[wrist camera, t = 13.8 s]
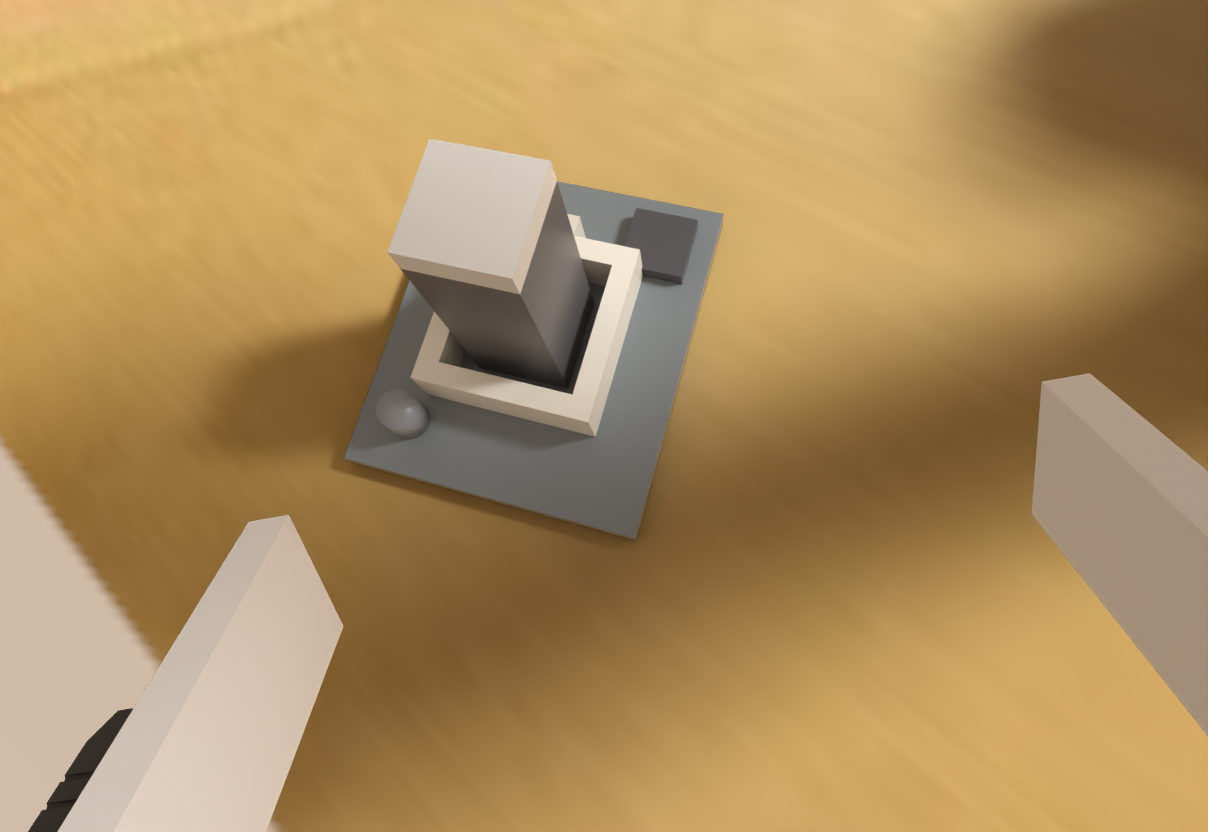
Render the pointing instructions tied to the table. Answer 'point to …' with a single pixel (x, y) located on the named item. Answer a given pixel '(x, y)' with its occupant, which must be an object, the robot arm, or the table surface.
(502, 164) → the tall square peg
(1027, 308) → the table surface
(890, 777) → the table surface
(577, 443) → the board
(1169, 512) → the robot arm
